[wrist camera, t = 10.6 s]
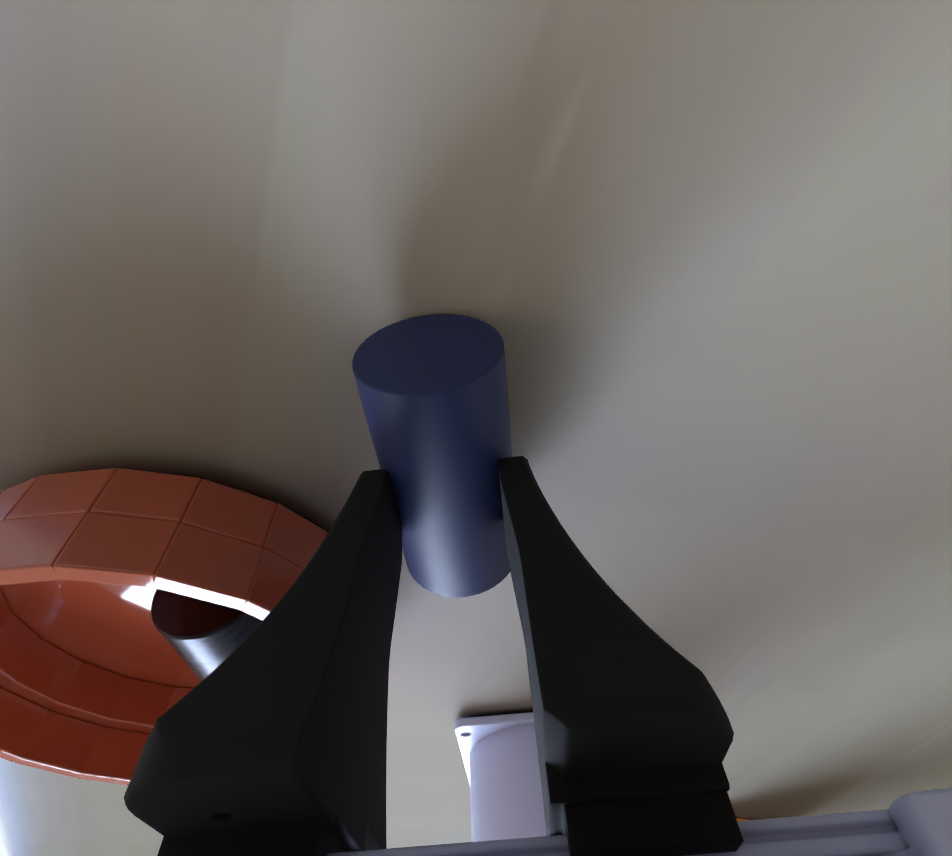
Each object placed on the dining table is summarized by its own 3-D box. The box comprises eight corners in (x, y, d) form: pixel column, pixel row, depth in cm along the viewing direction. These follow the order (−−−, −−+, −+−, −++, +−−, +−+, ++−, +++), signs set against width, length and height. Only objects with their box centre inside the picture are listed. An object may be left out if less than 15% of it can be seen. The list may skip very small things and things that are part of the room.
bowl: (411, 673, 25) (406, 772, 22) (102, 700, 25) (54, 801, 22) (330, 432, 16) (302, 541, 13) (-147, 478, 16) (-286, 596, 13)
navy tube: (536, 573, 16) (422, 614, 15) (494, 494, 18) (395, 527, 18) (528, 367, 11) (366, 412, 11) (474, 301, 14) (341, 334, 13)
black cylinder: (313, 637, 23) (340, 709, 20) (229, 681, 21) (247, 763, 19) (254, 524, 18) (280, 599, 16) (145, 572, 17) (155, 661, 15)
